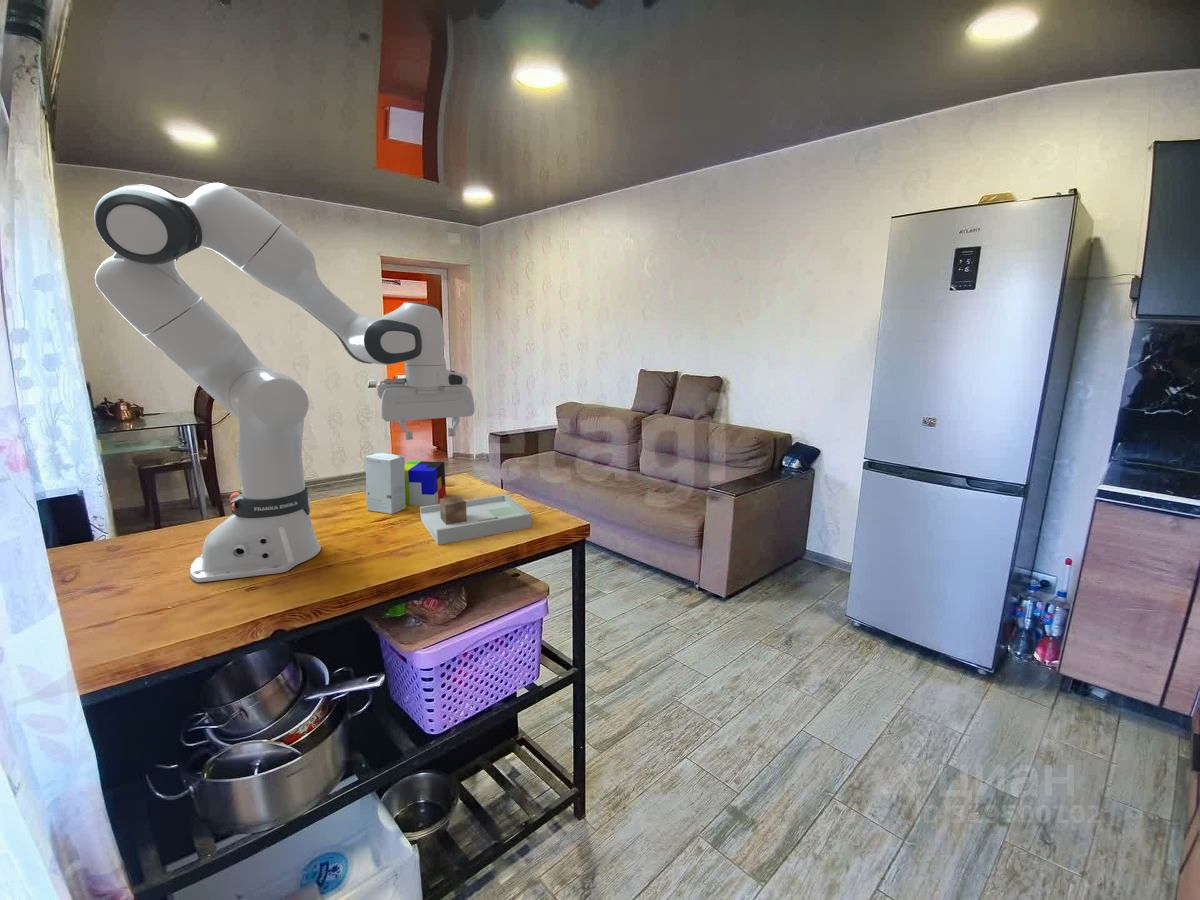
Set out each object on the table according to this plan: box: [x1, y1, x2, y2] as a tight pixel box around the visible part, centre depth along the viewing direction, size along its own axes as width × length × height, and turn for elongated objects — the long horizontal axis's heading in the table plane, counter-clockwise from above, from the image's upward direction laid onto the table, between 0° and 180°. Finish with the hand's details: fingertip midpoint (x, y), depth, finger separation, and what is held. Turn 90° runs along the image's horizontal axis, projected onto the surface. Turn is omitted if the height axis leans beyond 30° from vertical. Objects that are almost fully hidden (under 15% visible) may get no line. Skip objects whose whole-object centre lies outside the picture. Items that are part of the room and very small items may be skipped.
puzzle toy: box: [405, 460, 447, 507], centre depth 145 cm, size 10×10×10 cm
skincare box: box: [364, 452, 406, 515], centre depth 136 cm, size 8×6×15 cm
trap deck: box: [419, 493, 533, 545], centre depth 129 cm, size 23×18×4 cm
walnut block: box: [439, 495, 467, 525], centre depth 125 cm, size 5×5×5 cm
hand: (430, 437), depth 119 cm, fingers open, 8 cm apart
